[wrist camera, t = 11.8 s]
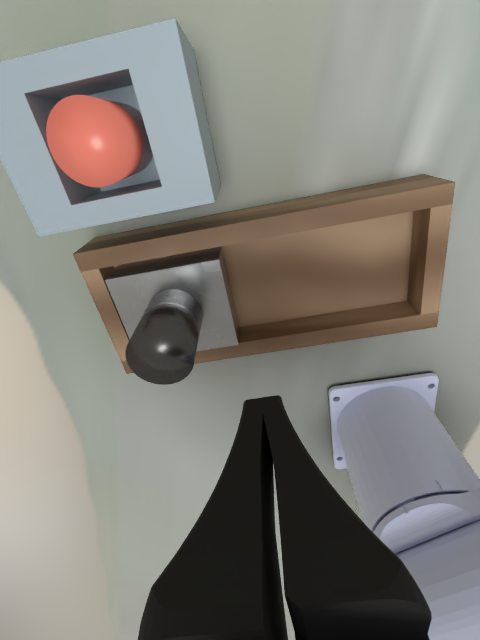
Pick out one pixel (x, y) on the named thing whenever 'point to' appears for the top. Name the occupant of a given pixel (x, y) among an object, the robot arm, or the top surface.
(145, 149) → the button
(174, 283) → the carriage
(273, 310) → the rail
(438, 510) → the robot arm
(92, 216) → the button housing
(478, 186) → the top surface
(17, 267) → the top surface
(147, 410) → the top surface
